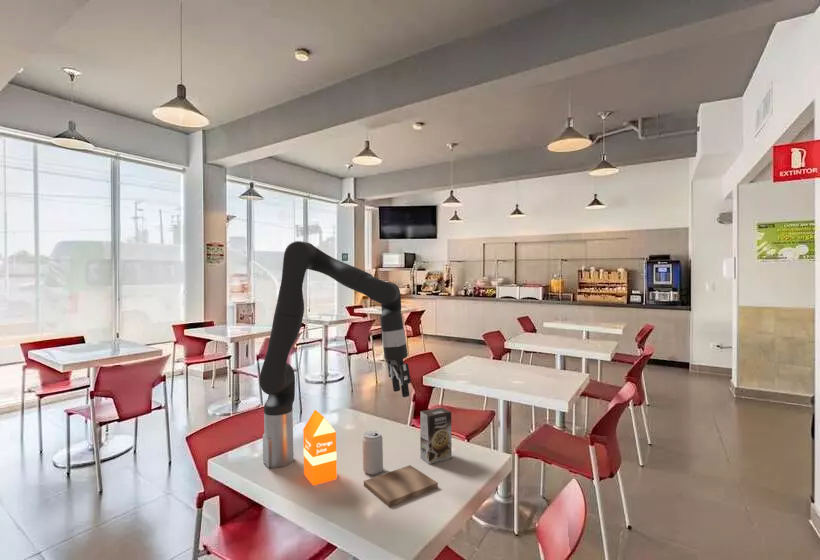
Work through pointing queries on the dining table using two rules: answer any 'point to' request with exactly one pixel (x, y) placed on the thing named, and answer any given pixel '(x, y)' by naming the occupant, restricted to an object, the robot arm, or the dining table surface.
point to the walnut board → (400, 485)
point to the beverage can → (372, 452)
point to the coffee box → (435, 435)
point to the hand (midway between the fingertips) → (401, 393)
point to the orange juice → (319, 450)
